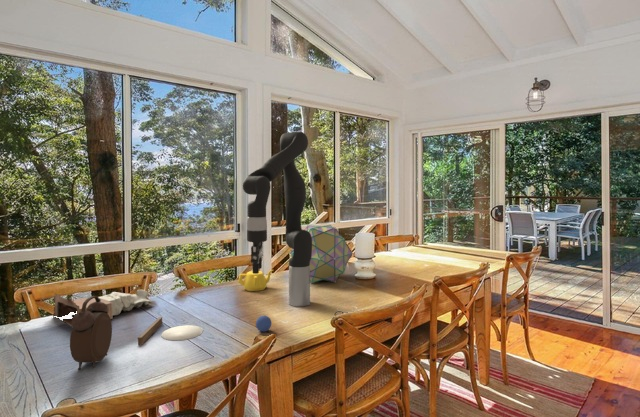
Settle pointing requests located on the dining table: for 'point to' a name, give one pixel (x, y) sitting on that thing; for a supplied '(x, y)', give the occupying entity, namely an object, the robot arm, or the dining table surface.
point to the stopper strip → (149, 331)
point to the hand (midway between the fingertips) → (257, 270)
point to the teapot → (254, 280)
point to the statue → (112, 301)
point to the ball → (263, 323)
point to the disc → (182, 332)
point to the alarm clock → (91, 333)
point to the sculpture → (327, 253)
